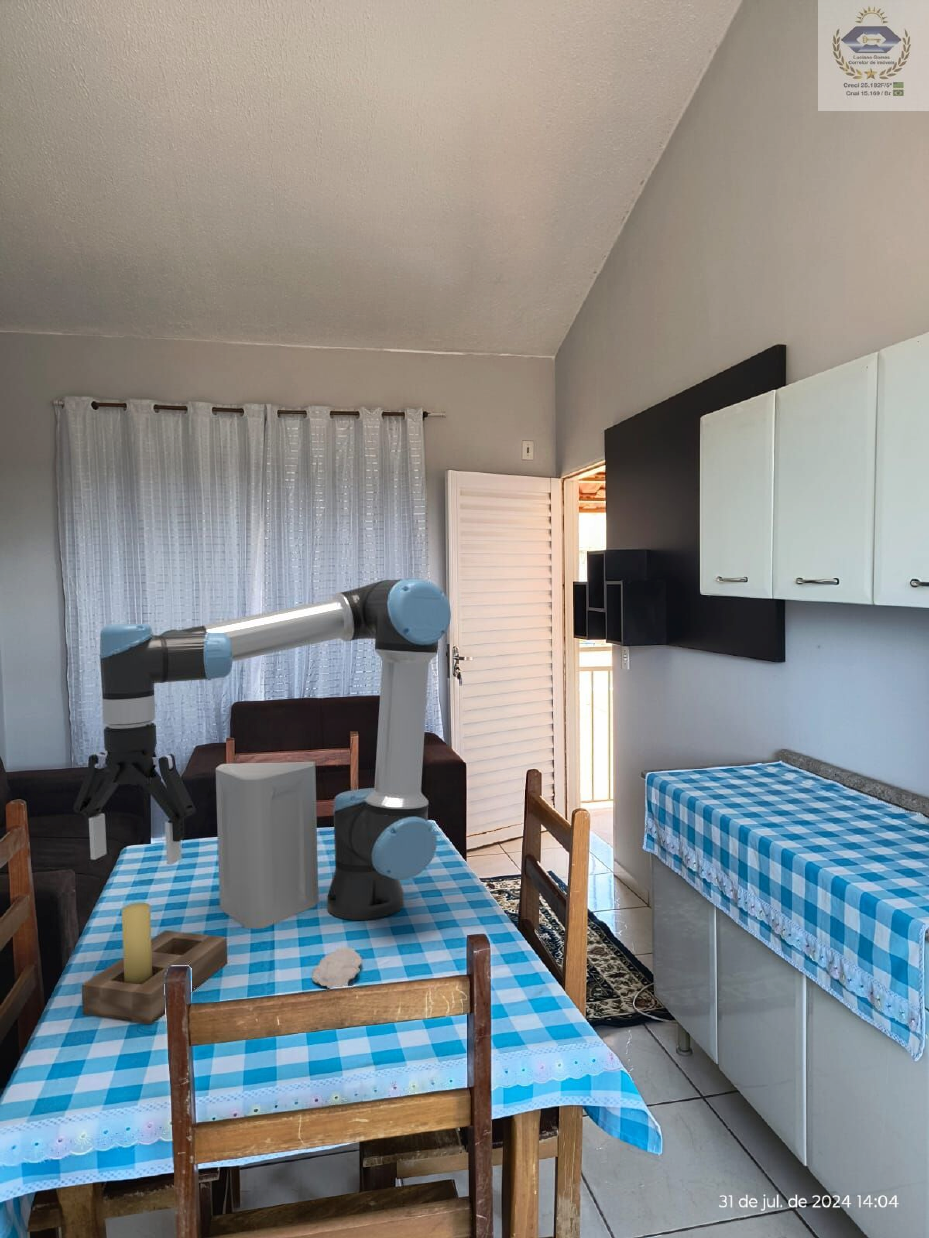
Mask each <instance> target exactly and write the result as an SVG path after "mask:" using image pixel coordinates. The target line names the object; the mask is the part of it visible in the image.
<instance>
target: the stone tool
mask: <svg viewBox="0 0 929 1238" xmlns="http://www.w3.org/2000/svg"><path fill="white" fill-rule="evenodd" d="M362 964H363V958H362V956H360V953H358V952H356V951H355V949H353V948H352V947H342V948H338V949H336V950H335V951H333V952H331V953H328V954H327V955H326V956H324V957H322V958H321V960H320V961H319V963H318V964H317V966H315V967H313V968H312V970H313V973H312V978H311V980H312V982H314V983H316V984H318V985H320V986H322V987H327V989H328V988H333V987H343V986H348V987H349V981H350V980H351V979H355V977H356V975H358V974H359V973H360V970H361V969H360V968H359V967H360V965H362Z"/></svg>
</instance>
